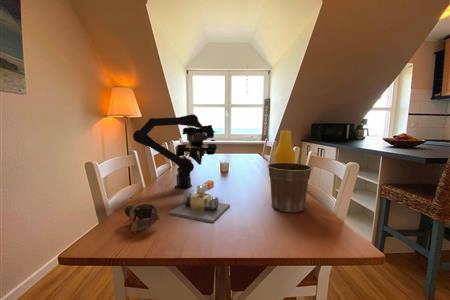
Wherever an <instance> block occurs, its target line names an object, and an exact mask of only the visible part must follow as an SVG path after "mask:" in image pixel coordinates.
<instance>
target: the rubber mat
mask: <svg viewBox="0 0 450 300" xmlns="http://www.w3.org/2000/svg"><path fill="white" fill-rule="evenodd" d="M230 207H231V204H228V203H223V202H219V203H218V208H217V210H216V211H212V210H206V211H205V212H202V211H197V210H191V207H190V206H185V205H184V203H182V204H180V205H178V206H176V207H175V208H173V209H171V210H169V212H168V214H169V215H172V216H176V217H182V218H187V219H191V220H192V219H193V220H197V221H203V222H208V223H211V224H213V223H215V222H216V220H218V219H219V217H221V216H222V215H223V214H224V213H225V212H226V211H227V210H228V209H229V208H230Z"/></svg>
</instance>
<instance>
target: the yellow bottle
mask: <svg viewBox="0 0 450 300" xmlns="http://www.w3.org/2000/svg"><path fill="white" fill-rule="evenodd" d="M278 141H279V142H278V146H277V147H276V150H275V152H274V156H273V157H274V158H273V159H274V160H273V163H296V152H295V149H294V146H293V143H292V132H291V130H280V135H279V140H278Z"/></svg>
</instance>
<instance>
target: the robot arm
mask: <svg viewBox="0 0 450 300" xmlns="http://www.w3.org/2000/svg"><path fill="white" fill-rule="evenodd" d="M161 126H186V127H184V128H183V129H182V135H186V136H187V142H188V146H189V147H187V144H186V143H185V144H177V145H176V149H175V153H174V152H173V151H171V150H170V149H168V148H167V147H165V146H164V145H162V144H161V143H159V142H158V141H156V140H155V139H153V137H152V136H150V135H149V133H150V132H151V131H152V129H154V127H161ZM132 137H133V138H132V139H133V141H134V142H136V143H138V144H139V145H140V144H141V145H143V146H146V147H148V148H150V149H152V150H154V151H156V152H157V153H159V154H161V155H162V156H164V157H165V158H167V159H168V160H170V161H171V162H173V163H174V164H176V166H177V168H176V172H177V174H176V185H175V186H174V188H179V189H184V190H185V189H187V188H190V187H193V184H192V181H191V179H192V178H191V172H192V171H194V168H195V166H194V164H193V162H192V159H193V160H194V161H195V162H196V163H197V164H198V165H199V166H200V165H202V159H203V157H204V156H205V153H206V155H207V156H210V155H211V156H212V155H215V153H216V150H217V148H218V146H217V144H216V143H207V146H203V145H204V141H207V140H209V139H213V138H214V137H215V131H214V129H213V125H212V124H209V125H202V123H201V122H200V121H199V117H198V116H197V115H196V114H192V113H191V114H188V115H183V116H179V117H158V118H157V117H155V118H154V117H151V118H149V119H148V120H147V122H146V123H145V124H144V125H143V126H142V127H141V128H140V129H137V130H136V131H135V130H134V132H133V134H132ZM185 153H188V158H187V157H186V156H185ZM190 158H191V159H190Z"/></svg>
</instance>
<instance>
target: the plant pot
mask: <svg viewBox="0 0 450 300" xmlns="http://www.w3.org/2000/svg"><path fill="white" fill-rule="evenodd" d="M267 168H268V176H269V180H270V181H269V182H270V196H271V197H270V198H271V199H270V200H271V207H272V208H273V209H275V210H278V211H279V212H283V213H288V214H293V213H294V214H296V213H300V212H303V211H304V210H305V209H306V208H305V207H306V199H307V194H308V193H307V192H308V187H309V180H310V179H311V173H312V172H311V171H312V170H313V167H312V166H310V165H308V164H302V163H296V162H295V163H274V162H272V163H268V164H267Z"/></svg>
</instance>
